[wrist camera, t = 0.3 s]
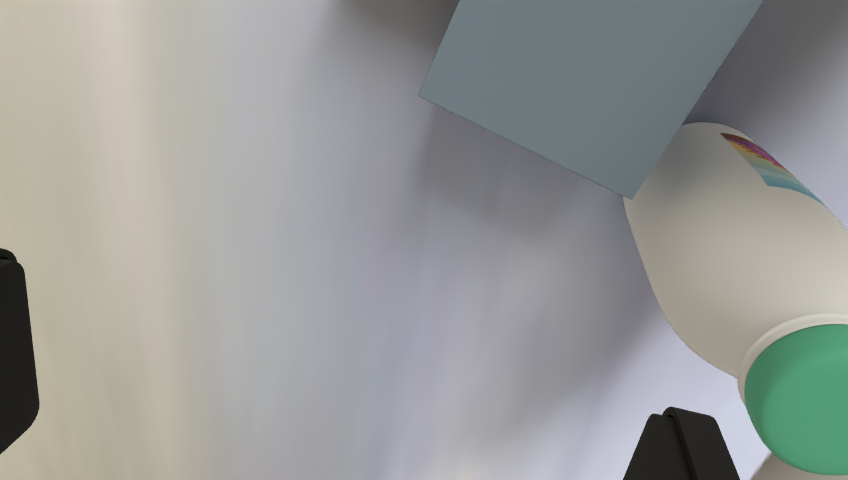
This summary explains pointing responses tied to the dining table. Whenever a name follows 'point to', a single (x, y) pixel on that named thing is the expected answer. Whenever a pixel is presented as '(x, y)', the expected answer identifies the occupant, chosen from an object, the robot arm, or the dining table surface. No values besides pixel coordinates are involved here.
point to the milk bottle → (753, 285)
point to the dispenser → (585, 76)
